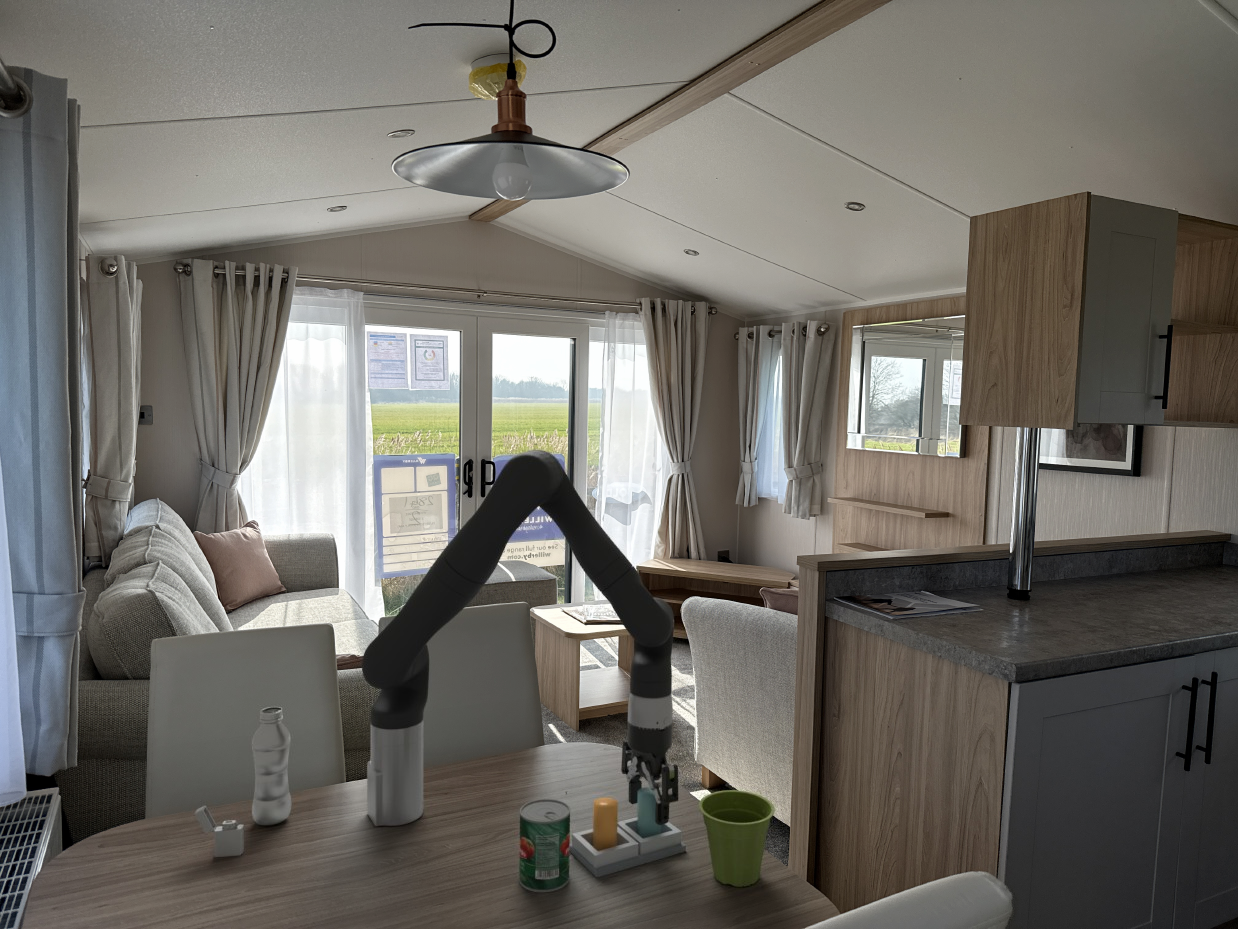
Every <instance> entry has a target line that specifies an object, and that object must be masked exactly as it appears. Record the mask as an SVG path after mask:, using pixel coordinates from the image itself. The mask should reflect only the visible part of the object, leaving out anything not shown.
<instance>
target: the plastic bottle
mask: <svg viewBox="0 0 1238 929" xmlns="http://www.w3.org/2000/svg"><path fill="white" fill-rule="evenodd" d="M259 715H260V716H259V724H260V726H258V728H257V730H256V731H255V733H254V734H253V736H252V739H251V749H252V755H253V764H254V774H255V775H254V776H255V780H254V782H255V784H254V792H253V794H254V795H253V798H252V806H251V813H252V820H254V821H255V823H256V824H257V825H260V826H273V825H277V824H281V823H282V822H284V821H286V820H287V818H288V817H289V815H290V814H291V810H292V806H293V805H292V796H291V793H290V786H289V778H288V771H289V768H288V767H289V753H290V748H291V734H290V731H289V729H288V728H287V727H286V725H284V723H282V721H283V719H284V716H283V707H280V706H268V707H264V708H262V709H260V711H259Z"/></svg>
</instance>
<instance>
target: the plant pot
mask: <svg viewBox="0 0 1238 929" xmlns="http://www.w3.org/2000/svg"><path fill="white" fill-rule="evenodd" d="M698 808H699V811H700V812H701V814H702V817H703V822H704V825H705V829H706V833H707V834H706V835H707V841H708V848H709V854H710V860H711V868H712V873H713V876H714V878H715V879H716V880H717V881H718V882H720V883H721V884H723V885H732V886H733V887H737V888H743V886H744V887H748V886H749V887H750V886H751V884H752V885H753V884H755V883H756V882H758V879H759V878H760V874H761V869H762V863H763V862H762V861H763V856H764V851H765V845H766V838H767V833H768V830H769V828H770V821H771V818H772V817H773V816H774V814H775V810H776V809H775V805H774V804H773V802H771V800H769V799H768V798H766V797H765V796H762V795H760V794H757V793H755V792H754V793H753V792H750V791H747V790H746V791H745V790H738V789H737V790H734V789H732V790H730V789H729V790H721V791H715V792H712V793H709V794H707V795H705V796H703V797H702V798H701V799H700V801H699V803H698Z"/></svg>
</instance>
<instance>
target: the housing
mask: <svg viewBox="0 0 1238 929" xmlns="http://www.w3.org/2000/svg"><path fill="white" fill-rule="evenodd" d="M682 833H683V832H682V831H681V829H679V828H677V827H676V826H675V825H674V824H672V823H671V822H670V821H668V823H666V824H662V825H661V834H658V835H655V836H651V837H647V838H644V839H643V838H641V837H640V836H639V835H638V834H637V816H636V817H632V818H629V819H625V820H621V821H617V846H615V847H612V848H608V849H604V850H601V851H597V850H596V849H595V848H593V828H590V829H587V830H582V831H578V832H574V833H572V834H571V842H570V854H572V855H573V857H574V858H576V859H577V860H578V861H579V862H580V863H581V864H582V865H583V866H584V867H585V868H586V869H587V870H588V871H589V872H590V873H591V874H592V875H593V876H594V877H595V878H600V877H604V876H606V875H607V876H608V875H610V874H611V875H612V874H613V873H614V874H615V873H616V872H620V871H624V870H627V869H631V868H635V867H637V866H641V865H644V864H647V863H651V862H654V861H657V860H662V859H665V858H668V857H671V856H675V855H677V854H678V855H679V854H681V853H685V852H686V851H687V845H686V844H685V843H684V842H682ZM684 851H685V852H684Z"/></svg>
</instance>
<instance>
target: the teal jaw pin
mask: <svg viewBox="0 0 1238 929" xmlns="http://www.w3.org/2000/svg"><path fill="white" fill-rule="evenodd" d="M660 794H661V795H662V790H660ZM656 802H657V801H656V798H655V795H654V792H653V790H651V789H650V787H649V786H646V787H642V788H641V789H639V790H638V802H637V803H636V804H637V808H636V809H637V812H636V813H637V814H636V815H637V816H636V817H637V834H638V835H639V836H640V837H641V838H643V839H644V838H647V837H651V836H655V835H658V834H661V825H658V824H657V823H656V822H655V807H656Z"/></svg>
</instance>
